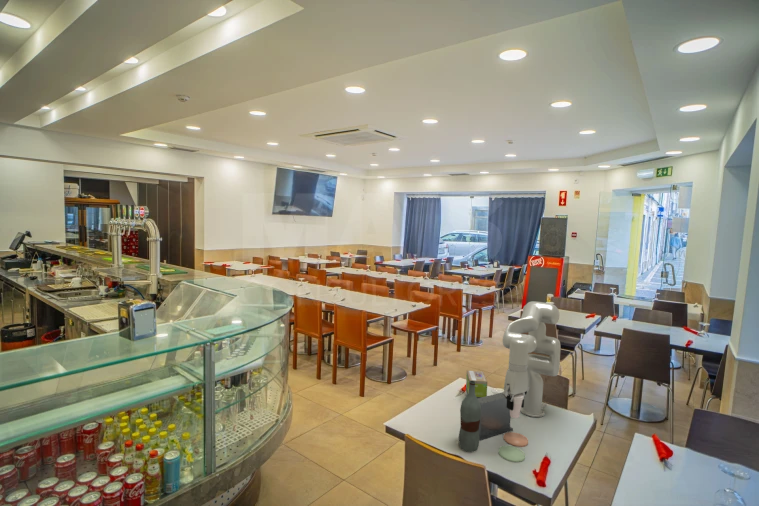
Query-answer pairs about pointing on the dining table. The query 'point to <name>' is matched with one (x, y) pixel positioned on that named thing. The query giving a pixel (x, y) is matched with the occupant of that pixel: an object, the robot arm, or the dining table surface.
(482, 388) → the tea box
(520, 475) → the dining table surface
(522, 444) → the terracotta coaster
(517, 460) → the sage coaster
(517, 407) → the smoothie
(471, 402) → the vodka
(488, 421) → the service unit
